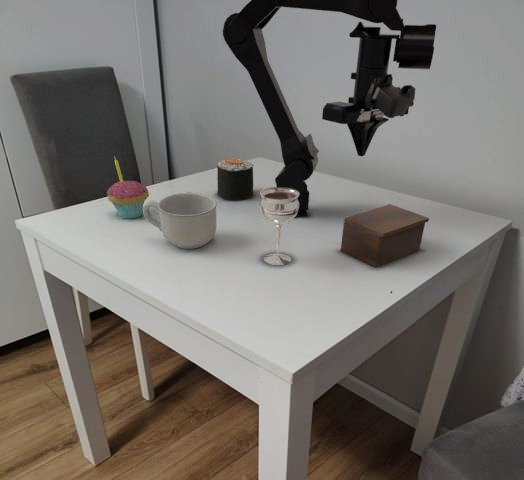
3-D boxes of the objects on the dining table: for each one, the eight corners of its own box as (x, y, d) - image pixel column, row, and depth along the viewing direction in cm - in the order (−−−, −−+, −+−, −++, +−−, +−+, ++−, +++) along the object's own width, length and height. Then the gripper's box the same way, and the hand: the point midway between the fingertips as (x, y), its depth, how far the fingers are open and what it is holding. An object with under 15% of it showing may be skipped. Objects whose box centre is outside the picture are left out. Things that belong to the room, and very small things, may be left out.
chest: (419, 250, 93) (425, 220, 89) (375, 267, 86) (380, 236, 83) (384, 235, 98) (389, 207, 95) (340, 251, 92) (343, 221, 88)
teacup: (226, 236, 97) (225, 196, 92) (203, 258, 89) (201, 215, 84) (164, 227, 101) (159, 188, 96) (136, 247, 92) (130, 205, 88)
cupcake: (102, 218, 104) (92, 159, 97) (126, 205, 111) (117, 150, 104) (136, 224, 102) (128, 164, 95) (158, 211, 108) (152, 154, 101)
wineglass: (251, 257, 89) (251, 191, 82) (280, 248, 92) (282, 184, 86) (274, 270, 85) (276, 202, 78) (303, 261, 88) (308, 194, 81)
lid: (428, 221, 89) (429, 217, 89) (382, 237, 83) (383, 233, 82) (389, 207, 95) (389, 203, 94) (343, 221, 88) (344, 217, 88)
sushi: (228, 202, 113) (227, 167, 109) (213, 192, 119) (211, 158, 115) (258, 197, 117) (259, 162, 112) (242, 187, 123) (242, 154, 118)
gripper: (370, 75, 80) (358, 172, 89) (440, 68, 89) (422, 157, 98) (323, 68, 87) (316, 159, 96) (392, 63, 96) (380, 146, 105)
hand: (361, 155), depth 99 cm, fingers closed
